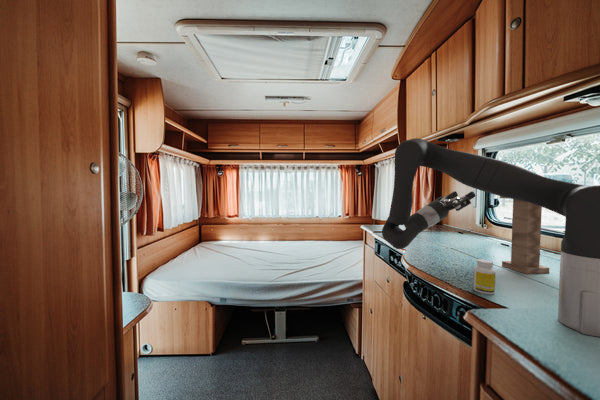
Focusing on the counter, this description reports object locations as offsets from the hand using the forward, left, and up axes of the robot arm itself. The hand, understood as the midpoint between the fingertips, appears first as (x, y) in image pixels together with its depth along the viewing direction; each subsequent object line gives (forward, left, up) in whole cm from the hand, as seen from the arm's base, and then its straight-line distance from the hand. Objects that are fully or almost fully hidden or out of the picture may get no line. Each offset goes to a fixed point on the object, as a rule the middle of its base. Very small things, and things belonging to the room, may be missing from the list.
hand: (464, 193), depth 94 cm
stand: (+14, -24, -31) cm, 42 cm away
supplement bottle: (-19, -2, -31) cm, 37 cm away
